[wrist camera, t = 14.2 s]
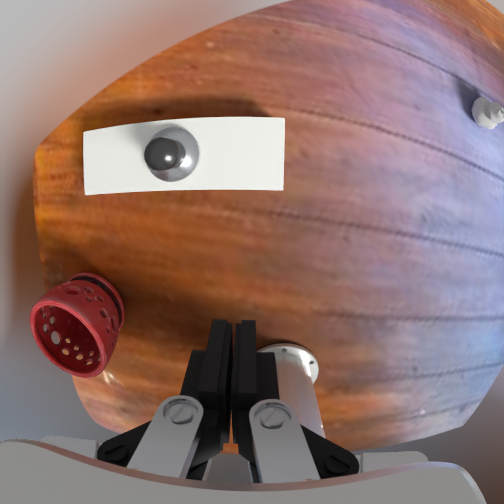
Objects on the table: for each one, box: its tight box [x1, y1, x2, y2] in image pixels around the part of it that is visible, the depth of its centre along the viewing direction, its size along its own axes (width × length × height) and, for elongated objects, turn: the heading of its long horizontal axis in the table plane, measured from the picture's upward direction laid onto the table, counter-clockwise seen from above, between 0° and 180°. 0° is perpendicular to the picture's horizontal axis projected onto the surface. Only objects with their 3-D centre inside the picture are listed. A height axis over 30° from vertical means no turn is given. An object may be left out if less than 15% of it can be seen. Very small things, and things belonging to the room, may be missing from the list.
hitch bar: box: [83, 117, 285, 195], centre depth 32 cm, size 8×24×5 cm, turn 89°
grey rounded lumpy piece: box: [472, 97, 504, 129], centre depth 27 cm, size 5×7×8 cm
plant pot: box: [30, 272, 125, 378], centre depth 35 cm, size 13×13×12 cm
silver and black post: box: [144, 127, 200, 182], centre depth 29 cm, size 6×6×10 cm
